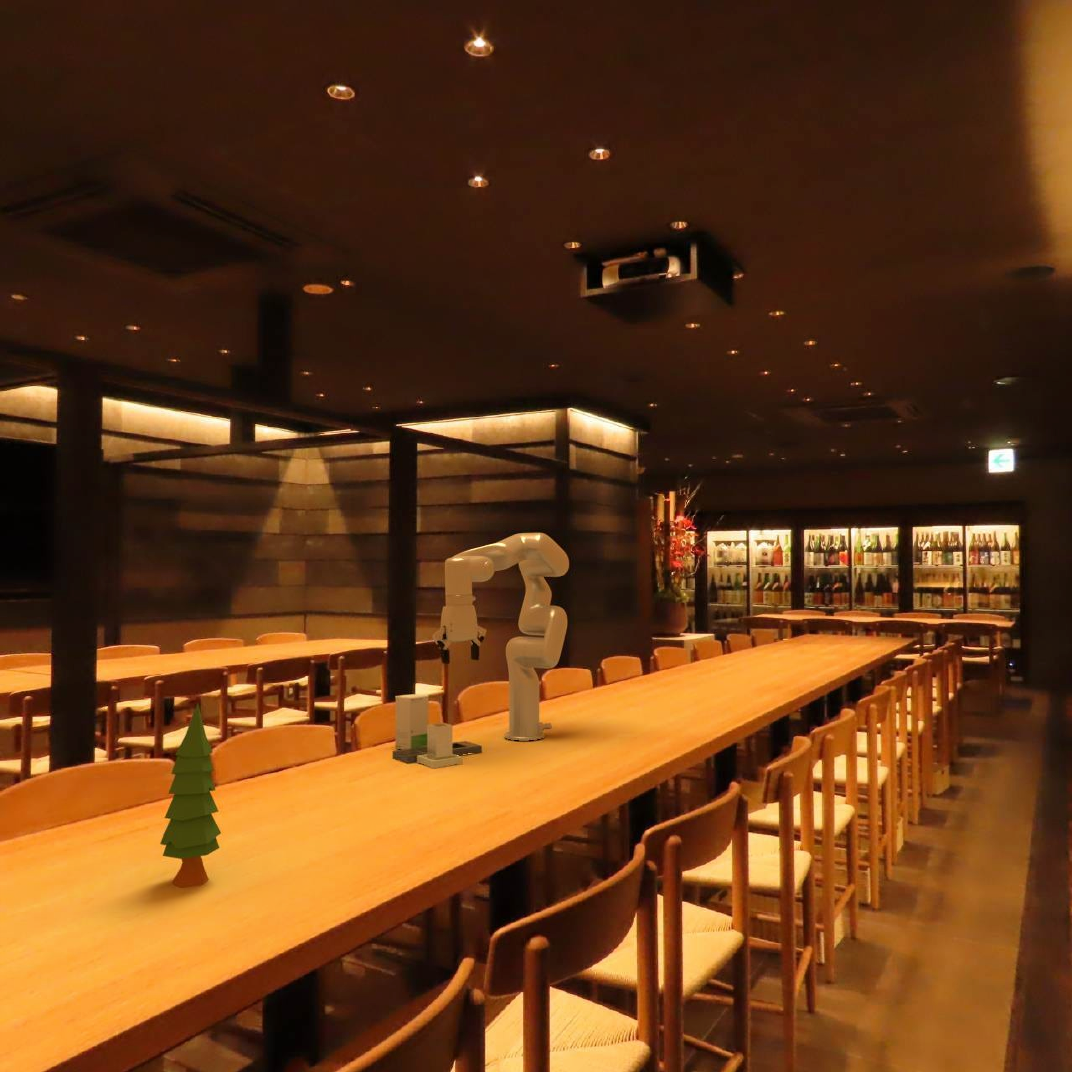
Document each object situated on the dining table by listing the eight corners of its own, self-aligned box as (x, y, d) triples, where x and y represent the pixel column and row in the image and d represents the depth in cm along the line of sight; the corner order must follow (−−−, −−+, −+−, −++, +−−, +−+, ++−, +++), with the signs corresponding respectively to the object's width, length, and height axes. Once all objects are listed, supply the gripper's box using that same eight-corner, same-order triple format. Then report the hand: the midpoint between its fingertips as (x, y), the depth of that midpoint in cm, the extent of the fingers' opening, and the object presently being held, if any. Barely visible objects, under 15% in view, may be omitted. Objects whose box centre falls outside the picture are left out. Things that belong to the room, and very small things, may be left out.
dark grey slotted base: (465, 747, 265) (465, 740, 265) (481, 752, 258) (481, 745, 258) (392, 758, 251) (392, 750, 251) (407, 763, 244) (407, 755, 244)
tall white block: (443, 759, 248) (443, 721, 248) (452, 762, 243) (452, 724, 244) (427, 761, 245) (427, 723, 245) (436, 764, 241) (436, 726, 241)
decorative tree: (226, 872, 156) (228, 699, 158) (209, 891, 147) (211, 707, 148) (170, 872, 156) (172, 700, 157) (149, 892, 147) (151, 708, 148)
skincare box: (409, 751, 259) (409, 697, 260) (393, 749, 263) (393, 696, 264) (429, 747, 266) (429, 694, 267) (413, 744, 270) (414, 692, 271)
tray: (445, 758, 250) (445, 751, 250) (462, 764, 243) (462, 757, 243) (416, 762, 245) (416, 755, 245) (433, 768, 238) (433, 761, 238)
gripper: (477, 598, 261) (479, 657, 261) (425, 602, 251) (427, 663, 251) (491, 599, 255) (493, 659, 255) (439, 603, 245) (440, 666, 245)
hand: (460, 661), depth 253 cm, fingers open, 9 cm apart
